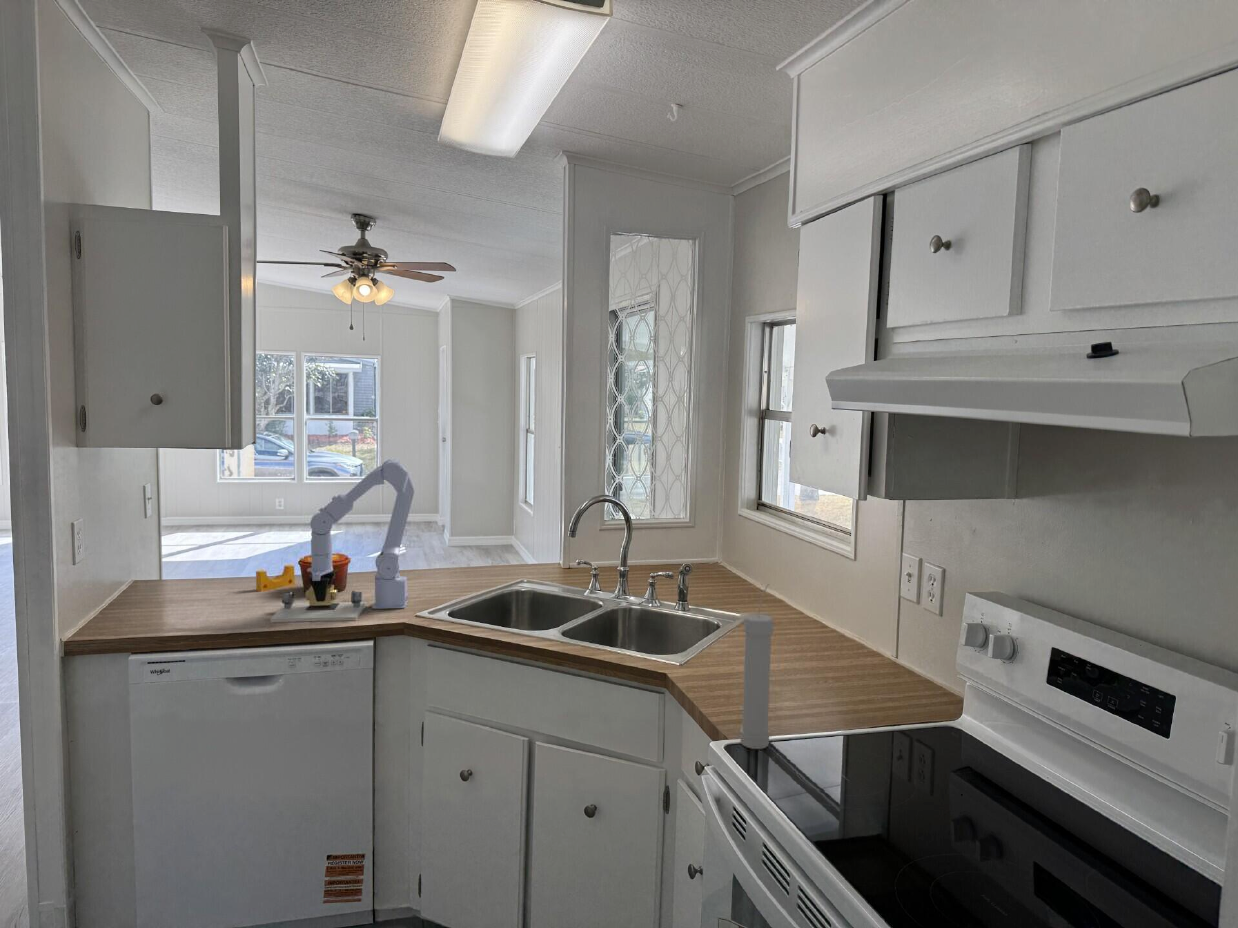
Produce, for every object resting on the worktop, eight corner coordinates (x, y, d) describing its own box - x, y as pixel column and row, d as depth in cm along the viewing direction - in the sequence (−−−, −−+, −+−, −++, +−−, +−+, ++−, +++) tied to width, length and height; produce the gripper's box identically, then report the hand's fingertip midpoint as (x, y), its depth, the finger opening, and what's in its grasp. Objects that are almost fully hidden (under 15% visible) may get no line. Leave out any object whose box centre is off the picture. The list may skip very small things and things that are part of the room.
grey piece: (734, 744, 148) (739, 587, 145) (750, 733, 153) (755, 581, 150) (760, 752, 144) (766, 592, 142) (776, 741, 149) (781, 586, 147)
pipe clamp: (286, 582, 266) (286, 564, 265) (294, 584, 263) (294, 565, 263) (253, 590, 256) (252, 570, 255) (261, 592, 253) (260, 572, 253)
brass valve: (338, 600, 235) (337, 584, 235) (335, 604, 231) (334, 588, 230) (308, 601, 234) (308, 585, 234) (305, 605, 230) (304, 588, 229)
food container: (295, 586, 260) (295, 554, 259) (346, 582, 267) (346, 551, 266) (301, 598, 246) (300, 564, 245) (354, 593, 253) (354, 560, 252)
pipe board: (366, 605, 239) (365, 586, 239) (355, 620, 223) (355, 600, 223) (286, 606, 236) (286, 587, 236) (270, 622, 220) (270, 602, 220)
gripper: (313, 549, 238) (314, 593, 239) (300, 559, 223) (301, 605, 225) (337, 548, 239) (338, 592, 240) (326, 558, 224) (327, 605, 226)
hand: (322, 599), depth 232 cm, fingers closed on brass valve, 4 cm apart
